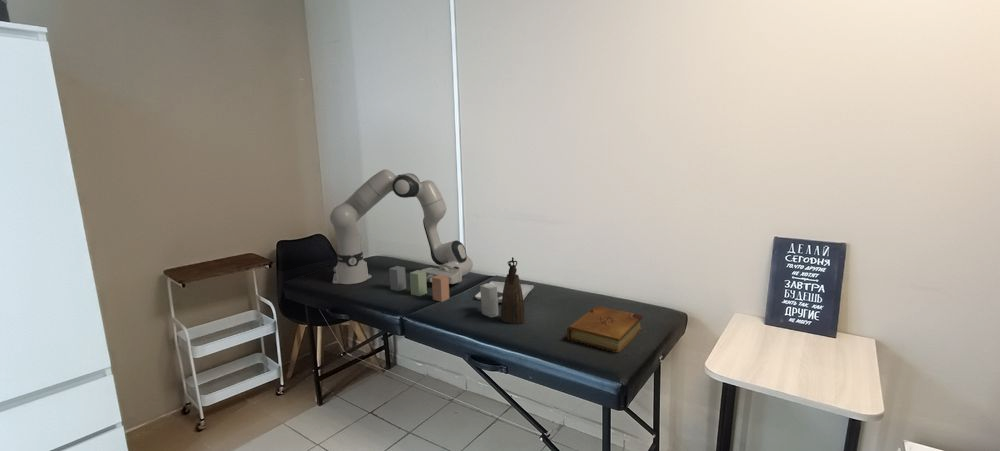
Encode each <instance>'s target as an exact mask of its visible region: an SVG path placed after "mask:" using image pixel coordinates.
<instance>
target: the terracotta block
mask: <svg viewBox="0 0 1000 451" xmlns="http://www.w3.org/2000/svg"><path fill="white" fill-rule="evenodd" d="M431 288H432V300H433V301H437V302H441V303H442V302H444V301H447V300H449V299H450V284H449V277H448V276H445V275H440V274H439V275H437V276H434V277H432V282H431Z"/></svg>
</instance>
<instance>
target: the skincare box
mask: <svg viewBox="0 0 1000 451" xmlns="http://www.w3.org/2000/svg"><path fill="white" fill-rule="evenodd" d="M489 283H490V282H489ZM489 283H488V282H487V283H484V284H481V285H480V286H479V289H480V291H481V300H480V301H481V302H480V304H481V306H480V307H481V314H482V315H484V316H486V317H489V318H494V317H498V316H499V303H498V297H499V296H498V292H497V286H494V285H491V284H489ZM480 291H479V292H480Z"/></svg>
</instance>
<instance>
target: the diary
mask: <svg viewBox="0 0 1000 451" xmlns="http://www.w3.org/2000/svg"><path fill="white" fill-rule="evenodd" d="M643 317H644V316H643V315H642V314H637V313H634V312H628V311H624V310H618V309H614V308H609V307H603V306H600V305H596V306H594V307H593V308H591V309H590V310H589V311H588V312H587V313H585V314H584V315H583V316H582V317H580V318H579V319H577V320H576V321H574V322H573V323H572V324H571V325H569V326H568V327H567V328H566V339H567V341H569V340H571V341H570V342H573V341H575V342H574V343H577V342H580V343H579V344H581V343H584V344H583V345H585V344H587V345H586V346H589V345H591V346H590V347H592V346H595V347H594V348H596V347H598V349H600V348H602V349H601V350H604V349H606V350H605V351H608V350H610V351H609V352H611V351H614V352H613V353H615V352H617V353H616V354H620V353H621V352H622V351H623V350H624V349H623V348H624V347H625V348H626V347H627V345H629V344H630V342H631V341H632V340H633V339H634V338H635V337H636V336H637V335H638V334H639V333H640V332H641V331H642V330H641V329H643V327H641V320H642V319H644V318H643ZM640 330H641V331H640ZM639 331H640V332H639ZM638 332H639V333H638ZM637 333H638V334H637ZM636 334H637V335H636ZM622 349H623V350H622ZM621 350H622V351H621ZM620 351H621V352H620ZM619 352H620V353H619Z"/></svg>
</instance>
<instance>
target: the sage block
mask: <svg viewBox="0 0 1000 451" xmlns="http://www.w3.org/2000/svg"><path fill="white" fill-rule="evenodd" d="M420 270H421V269H417V270H415V271H410V272H409V279H410V280H409V283H410V295H411V296H417V297H422V296H423V295H425V294H426V295H427V294H428V287H427V282H428V281H426V272H425V271H420Z"/></svg>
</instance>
